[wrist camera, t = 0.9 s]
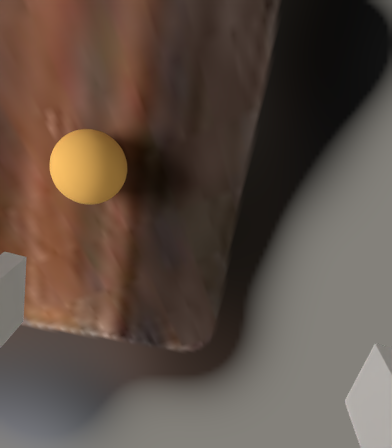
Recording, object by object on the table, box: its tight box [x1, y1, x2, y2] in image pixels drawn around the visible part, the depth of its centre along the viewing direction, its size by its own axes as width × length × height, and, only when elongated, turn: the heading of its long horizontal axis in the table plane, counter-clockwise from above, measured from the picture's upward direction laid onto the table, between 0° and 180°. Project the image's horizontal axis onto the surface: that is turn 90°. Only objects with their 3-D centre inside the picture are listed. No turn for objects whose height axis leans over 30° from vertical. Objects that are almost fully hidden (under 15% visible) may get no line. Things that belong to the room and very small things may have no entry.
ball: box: [50, 129, 127, 204], centre depth 27 cm, size 6×6×6 cm
